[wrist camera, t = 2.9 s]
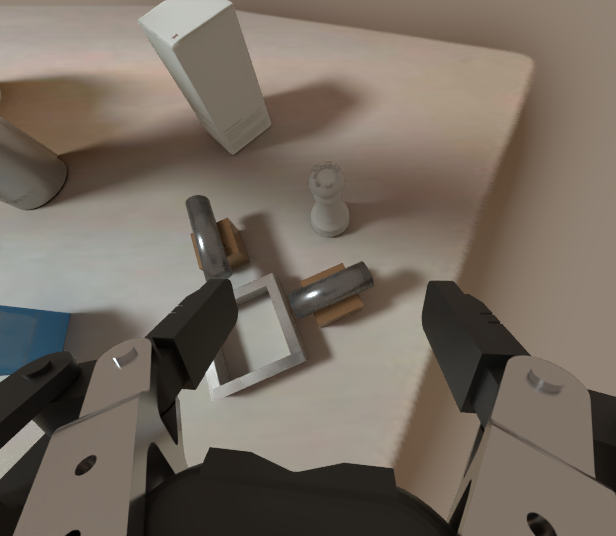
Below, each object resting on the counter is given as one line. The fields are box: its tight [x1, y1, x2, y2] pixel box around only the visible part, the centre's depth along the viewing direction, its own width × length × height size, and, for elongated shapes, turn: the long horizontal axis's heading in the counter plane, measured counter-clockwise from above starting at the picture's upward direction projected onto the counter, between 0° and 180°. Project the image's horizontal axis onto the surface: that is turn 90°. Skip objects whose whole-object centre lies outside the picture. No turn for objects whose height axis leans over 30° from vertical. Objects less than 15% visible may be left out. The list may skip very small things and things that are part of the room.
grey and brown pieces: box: [186, 195, 374, 402], centre depth 23 cm, size 19×17×5 cm
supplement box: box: [138, 0, 271, 155], centre depth 28 cm, size 7×7×13 cm
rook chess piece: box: [308, 162, 350, 237], centre depth 23 cm, size 4×4×8 cm
